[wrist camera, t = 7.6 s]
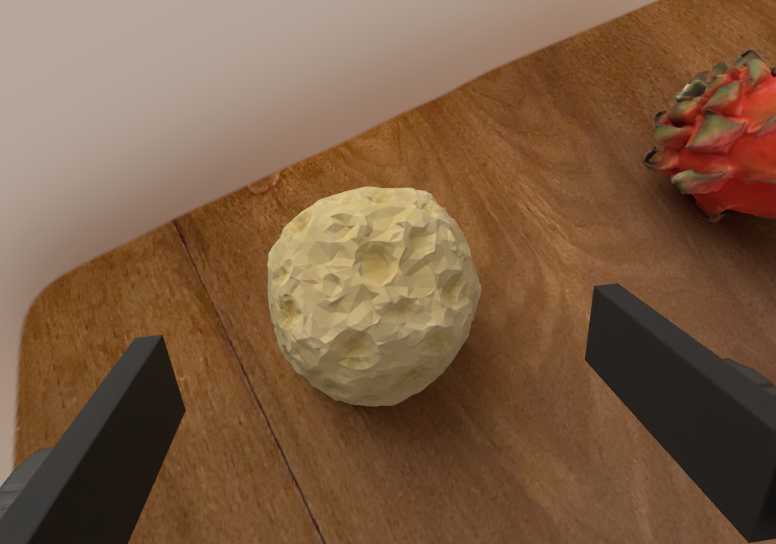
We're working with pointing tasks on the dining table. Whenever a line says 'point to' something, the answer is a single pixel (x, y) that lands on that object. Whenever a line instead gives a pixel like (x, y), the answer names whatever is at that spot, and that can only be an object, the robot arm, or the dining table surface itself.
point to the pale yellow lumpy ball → (372, 293)
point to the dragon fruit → (722, 138)
